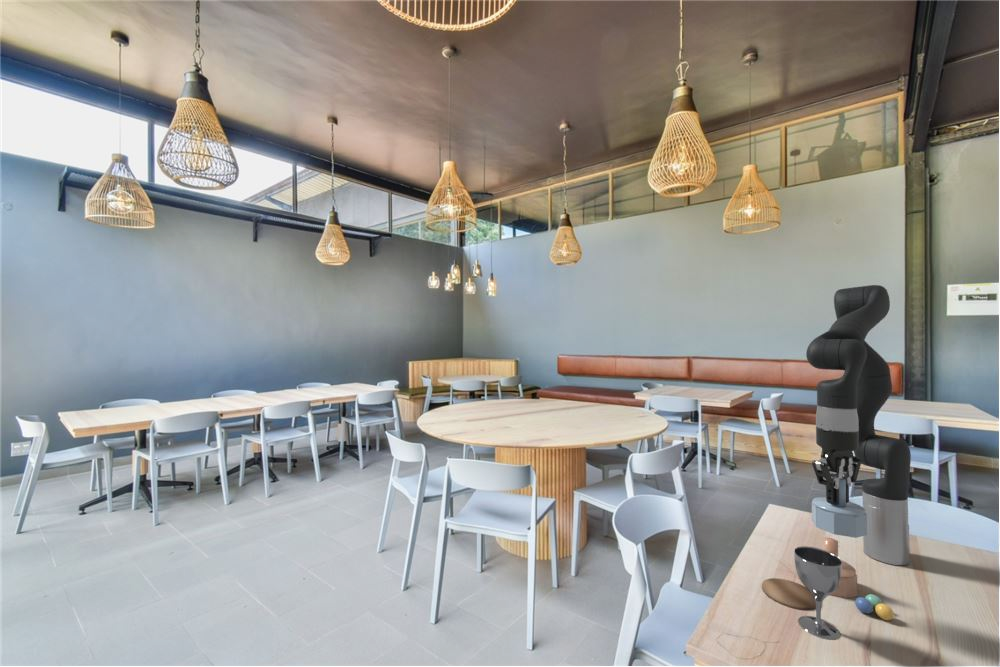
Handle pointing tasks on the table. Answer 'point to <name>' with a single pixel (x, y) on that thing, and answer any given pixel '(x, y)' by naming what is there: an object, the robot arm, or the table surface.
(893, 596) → the table surface
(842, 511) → the slate cloche
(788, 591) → the disc
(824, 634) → the wine glass
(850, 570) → the terracotta cloche
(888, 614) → the marble amber
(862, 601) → the marble inkblue
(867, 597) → the marble seagreen
